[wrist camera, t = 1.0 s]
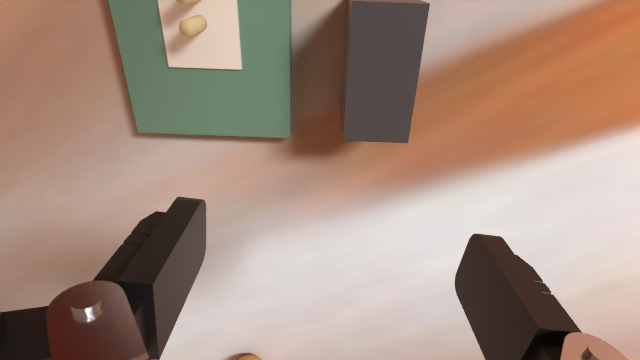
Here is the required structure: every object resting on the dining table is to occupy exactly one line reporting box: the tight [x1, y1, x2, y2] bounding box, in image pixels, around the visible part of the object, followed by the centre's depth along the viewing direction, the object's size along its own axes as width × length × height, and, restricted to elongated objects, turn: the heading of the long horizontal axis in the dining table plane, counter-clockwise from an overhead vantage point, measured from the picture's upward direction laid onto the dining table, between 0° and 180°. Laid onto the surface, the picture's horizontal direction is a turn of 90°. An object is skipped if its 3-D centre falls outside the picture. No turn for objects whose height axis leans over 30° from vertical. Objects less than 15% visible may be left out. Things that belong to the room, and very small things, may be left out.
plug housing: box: [341, 0, 430, 143], centre depth 25 cm, size 8×4×6 cm, turn 178°
